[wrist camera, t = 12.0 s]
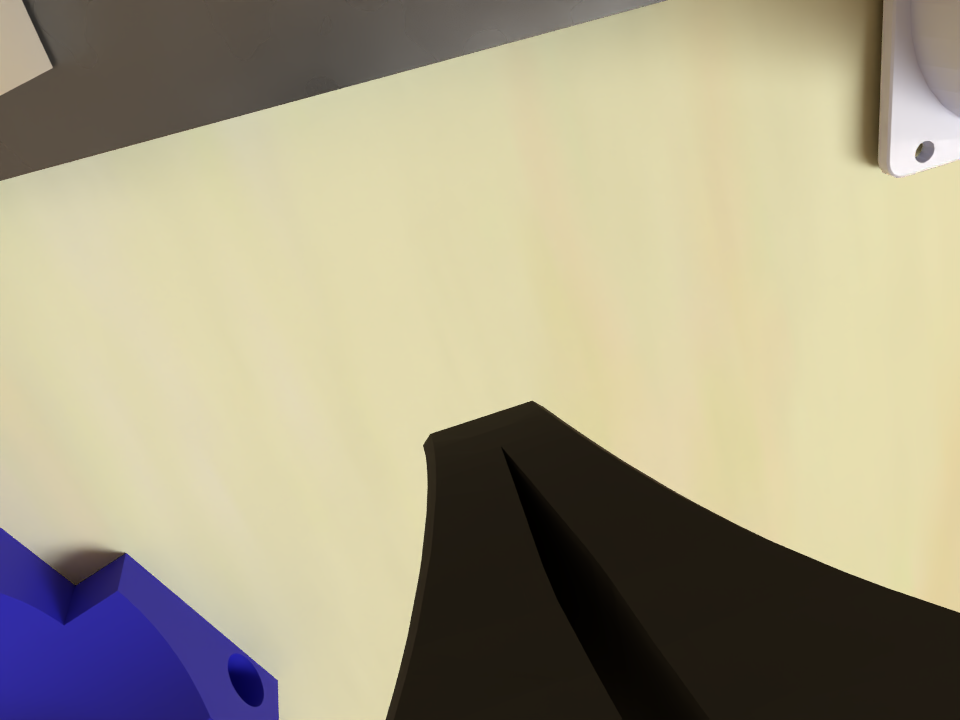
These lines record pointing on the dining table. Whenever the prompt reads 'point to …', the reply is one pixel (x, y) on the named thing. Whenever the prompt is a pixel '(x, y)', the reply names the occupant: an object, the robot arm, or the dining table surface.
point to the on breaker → (19, 47)
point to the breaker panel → (234, 61)
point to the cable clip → (116, 649)
